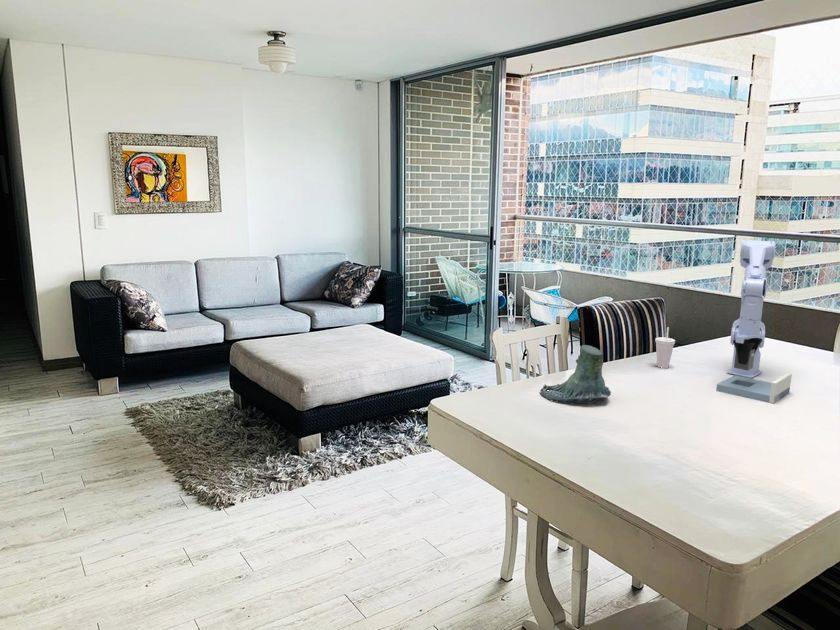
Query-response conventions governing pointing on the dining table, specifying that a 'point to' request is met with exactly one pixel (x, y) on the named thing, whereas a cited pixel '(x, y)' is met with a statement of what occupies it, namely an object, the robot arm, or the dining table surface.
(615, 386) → the dining table surface
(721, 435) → the dining table surface
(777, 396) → the outlet plate
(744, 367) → the plug
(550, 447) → the dining table surface
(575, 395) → the tree stump
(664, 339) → the smoothie
